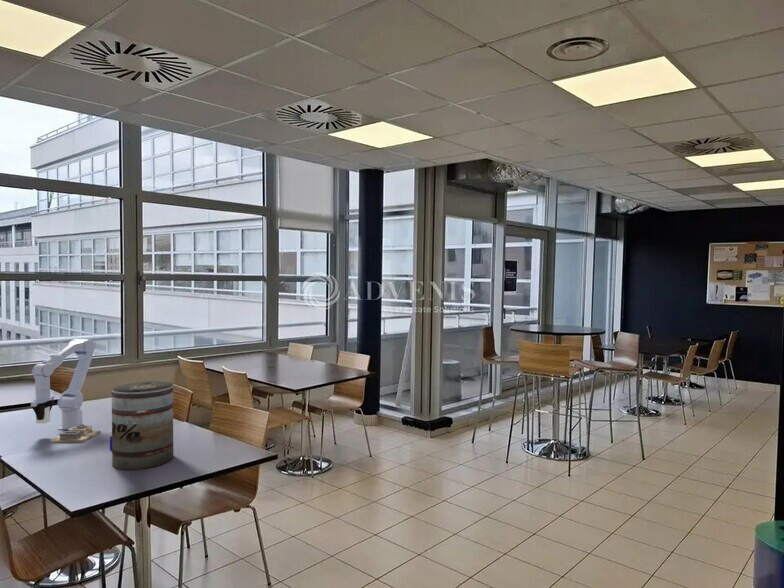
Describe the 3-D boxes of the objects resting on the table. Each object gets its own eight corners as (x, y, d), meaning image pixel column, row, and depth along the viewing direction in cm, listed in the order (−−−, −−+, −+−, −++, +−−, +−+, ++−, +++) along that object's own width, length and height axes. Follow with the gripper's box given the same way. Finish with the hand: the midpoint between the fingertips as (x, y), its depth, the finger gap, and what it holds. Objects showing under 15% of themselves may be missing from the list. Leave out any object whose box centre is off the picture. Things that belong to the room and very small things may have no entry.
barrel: (108, 458, 220) (107, 385, 219) (166, 448, 233) (165, 379, 232) (116, 474, 201) (116, 394, 201) (179, 462, 214) (179, 388, 214)
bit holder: (70, 432, 257) (70, 425, 256) (100, 432, 257) (100, 425, 257) (50, 442, 241) (49, 434, 241) (81, 442, 241) (81, 434, 241)
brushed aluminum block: (41, 421, 252) (41, 406, 252) (50, 421, 252) (49, 406, 252) (36, 423, 248) (35, 408, 248) (44, 423, 248) (44, 408, 248)
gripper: (43, 386, 257) (44, 414, 257) (23, 392, 242) (24, 422, 243) (58, 386, 257) (59, 414, 257) (39, 392, 243) (40, 422, 243)
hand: (43, 418), depth 250 cm, fingers closed on brushed aluminum block, 4 cm apart
